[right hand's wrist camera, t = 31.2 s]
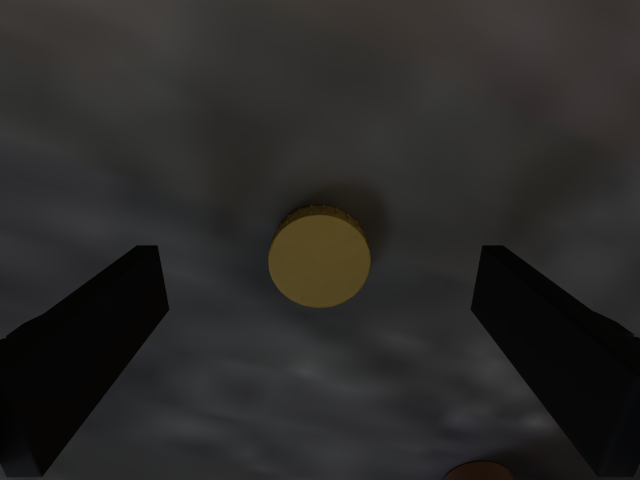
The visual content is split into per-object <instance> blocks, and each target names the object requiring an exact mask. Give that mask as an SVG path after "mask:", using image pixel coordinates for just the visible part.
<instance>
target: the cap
mask: <svg viewBox="0 0 640 480" xmlns="http://www.w3.org/2000/svg"><path fill="white" fill-rule="evenodd" d="M271 242H272V244H271V246H270V249H269V252H268V254H269V258H268V264H269V271H270V274H271V277H272V279H273V281H274V283H275V285H276V286H277V287H278V289H279V290H280V291H281V292H282V293H283V294H284V295H285V296H286V297H288V298H289V299H291V300H292V301H294V302H296V303H298V304H301V305H304V306H308V307H315V308H324V307H331V306H335V305H338V304H341V303H343V302H345V301H347V300H348V299H350V298H351V297H353V296H354V295H355V294H356V293H357V292H358V291H359V290H360V289H361V287H362V286H363V285H364V283H365V281H366V279H367V277H368V274H369V271H370V262H371V260H370V252H369V251H370V248H369V245H368V242H367V240H366V236H365V233H364V230H361V228H360V226H359V225H358V222H357V220H354V219H353V218H352V217H351V216H350V215H349V214H348V212H347V213H345V212H344V211H342V210H340V209H338V208H337V207H335V208H334V207H330V206H325V204H323V205H316V206H313V205H310V206H309V207H305V208H302V209H301V208H299V209H298V210H297V211H295V212H294V213H292V214H291V215H290V214H289V215H288V217H287V218H286V219H285V220H284V221H283V222H282V223H280V224H279V227H278V230H277V232H276V233H274V235H273V238H272V241H271Z"/></svg>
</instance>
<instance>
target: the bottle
mask: <svg viewBox="0 0 640 480" xmlns="http://www.w3.org/2000/svg"><path fill="white" fill-rule="evenodd" d="M443 480H515V478H514V476H513V475H512V473H511V472H510V471H509V470H508V469H507V468H506V467H504V466H502V465H500V464H498V463H494V462H488V461H477V462H471V463H467V464H464V465H461V466H459V467H457V468H455V469H453V470H452V471H451V472H449V473H448V474H447V475H446V476H445V477H444V479H443Z"/></svg>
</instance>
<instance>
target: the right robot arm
mask: <svg viewBox="0 0 640 480" xmlns="http://www.w3.org/2000/svg"><path fill="white" fill-rule="evenodd" d="M168 311H169V305H168V300H167V294H166V289H165V283H164V278H163V272H162V267H161V262H160V256H159V251H158V246H136V247H134V248H133V249H131V250H130V251H129V252H127V253H126V254H125V255H123V256H122V257H121V258H119V259H118V260H116V261H115V262H114V263H112V264H111V265H110V266H108V267H107V268H106V269H104V270H103V271H101V272H100V273H99V274H97V275H96V276H95V277H93V278H92V279H91V280H89V281H88V282H86V283H85V284H84V285H82V286H81V287H80V288H78V289H77V290H76V291H74V292H73V293H71V294H70V295H69V296H67V297H66V298H65V299H63V300H62V301H61V302H59V303H58V304H56V305H55V306H54V307H52V308H51V309H50V310H48V311H47V312H46V313H44V314H42V315H40V316H38V317H36V318H34V319H32V320H30V321H28V322H26V323H24V324H22V325H21V326H20V327H18V328H17V329H15V330H14V331H13V332H11V333H10V334H8V335H7V336H6V339H1V340H0V463H1V466H2V468H3V470H4V472H5V474H6V476H7V477H42V476H43V475H44V474H45V472H46V471H47V470H48V468H49V467H50V466H51V464H52V463H53V462H54V460H55V459H56V458H57V457H58V455H59V454H60V453H61V451H62V450H63V449H64V447H65V446H66V445H67V443H68V442H69V441H70V439H71V438H72V437H73V436H74V434H75V433H76V432H77V430H78V429H79V428H80V426H81V425H82V424H83V422H84V421H85V420H86V418H87V417H88V416H89V414H90V413H91V412H92V411H93V409H94V408H95V407H96V405H97V404H98V403H99V401H100V400H101V399H102V397H103V396H104V395H105V393H106V392H107V391H108V389H109V388H110V387H111V386H112V384H113V383H114V382H115V380H116V379H117V378H118V376H119V375H120V374H121V372H122V371H123V370H124V368H125V367H126V366H127V364H128V363H129V362H130V361H131V359H132V358H133V357H134V355H135V354H136V353H137V351H138V350H139V349H140V347H141V346H142V345H143V343H144V342H145V341H146V339H147V338H148V337H149V336H150V334H151V333H152V332H153V330H154V329H155V328H156V326H157V325H158V324H159V322H160V321H161V320H162V318H163V317H164V316H165V315H166V313H167V312H168ZM471 311H472V312H473V313H474V315H475V316H476V317H477V318H478V320H479V321H480V322H481V324H482V325H483V326H484V328H485V329H486V330H487V332H488V333H489V334H490V336H491V337H492V338H493V340H494V341H495V342H496V343H497V345H498V346H499V347H500V349H501V350H502V351H503V353H504V354H505V355H506V357H507V358H508V359H509V361H510V362H511V363H512V364H513V366H514V367H515V368H516V370H517V371H518V372H519V374H520V375H521V376H522V378H523V379H524V380H525V382H526V383H527V384H528V386H529V387H530V388H531V389H532V391H533V392H534V393H535V395H536V396H537V397H538V399H539V400H540V401H541V403H542V404H543V405H544V407H545V408H546V409H547V411H548V412H549V413H550V414H551V416H552V417H553V418H554V420H555V421H556V422H557V424H558V425H559V426H560V428H561V429H562V430H563V432H564V433H565V434H566V436H567V437H568V438H569V439H570V441H571V442H572V443H573V445H574V446H575V447H576V449H577V450H578V451H579V453H580V454H581V455H582V457H583V458H584V459H585V460H586V462H587V463H588V464H589V466H590V467H591V468H592V470H593V471H594V472H595V474H596V475H597V476H598V477H633V476H634V474H635V472H636V470H637V468H638V466H639V463H640V338H638V337H634V334H633V333H631V332H630V331H628V330H627V329H626V328H624V327H623V326H621V325H620V324H619V323H617V322H615V321H613V320H611V319H609V318H607V317H605V316H603V315H601V314H599V313H596V312H593V311H592V310H590V309H589V308H588V307H586V306H585V305H584V304H582V303H581V302H579V301H578V300H577V299H575V298H574V297H573V296H571V295H570V294H569V293H567V292H566V291H564V290H563V289H562V288H560V287H559V286H558V285H556V284H555V283H554V282H552V281H551V280H549V279H548V278H547V277H545V276H544V275H543V274H541V273H540V272H539V271H537V270H536V269H534V268H533V267H532V266H530V265H529V264H528V263H526V262H525V261H524V260H522V259H521V258H519V257H518V256H517V255H515V254H514V253H513V252H511V251H510V250H509V249H507V248H506V247H504V246H482V251H481V256H480V262H479V267H478V272H477V278H476V283H475V289H474V294H473V300H472V305H471Z"/></svg>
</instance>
